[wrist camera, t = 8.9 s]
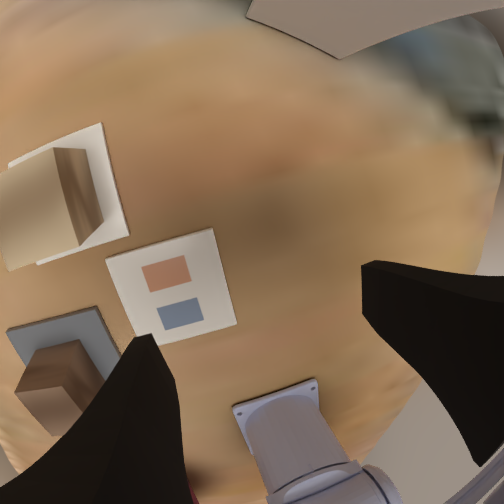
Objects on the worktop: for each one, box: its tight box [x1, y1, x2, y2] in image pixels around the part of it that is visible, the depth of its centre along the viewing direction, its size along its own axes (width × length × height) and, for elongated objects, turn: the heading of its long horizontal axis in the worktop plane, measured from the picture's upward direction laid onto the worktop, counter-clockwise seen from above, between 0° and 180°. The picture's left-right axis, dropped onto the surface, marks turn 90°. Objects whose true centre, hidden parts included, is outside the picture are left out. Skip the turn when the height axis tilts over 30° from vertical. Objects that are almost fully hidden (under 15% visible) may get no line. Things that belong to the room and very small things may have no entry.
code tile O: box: [8, 123, 130, 265], centre depth 15 cm, size 7×7×1 cm
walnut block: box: [14, 339, 105, 436], centre depth 15 cm, size 4×4×5 cm
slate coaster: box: [6, 306, 121, 381], centre depth 18 cm, size 9×9×1 cm
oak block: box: [0, 147, 104, 272], centre depth 12 cm, size 4×4×5 cm
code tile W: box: [105, 228, 237, 346], centre depth 18 cm, size 7×7×1 cm
